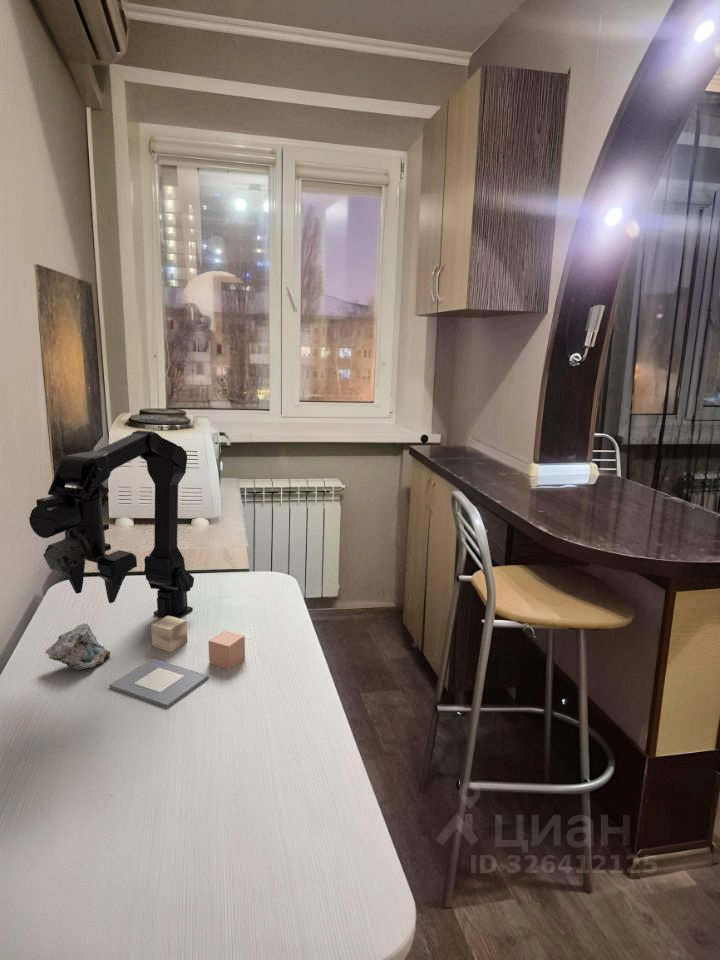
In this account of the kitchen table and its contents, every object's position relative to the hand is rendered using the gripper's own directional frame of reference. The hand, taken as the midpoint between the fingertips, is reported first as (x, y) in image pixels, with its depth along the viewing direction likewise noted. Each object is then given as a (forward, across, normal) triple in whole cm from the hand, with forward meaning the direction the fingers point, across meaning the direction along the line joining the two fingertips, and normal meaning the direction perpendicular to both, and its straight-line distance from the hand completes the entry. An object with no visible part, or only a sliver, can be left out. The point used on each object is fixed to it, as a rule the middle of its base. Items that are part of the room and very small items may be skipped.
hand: (94, 597), depth 123 cm
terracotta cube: (+14, +22, +12) cm, 29 cm away
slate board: (+13, +16, -1) cm, 21 cm away
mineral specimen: (+14, -2, -3) cm, 14 cm away
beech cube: (+14, +7, +11) cm, 19 cm away
